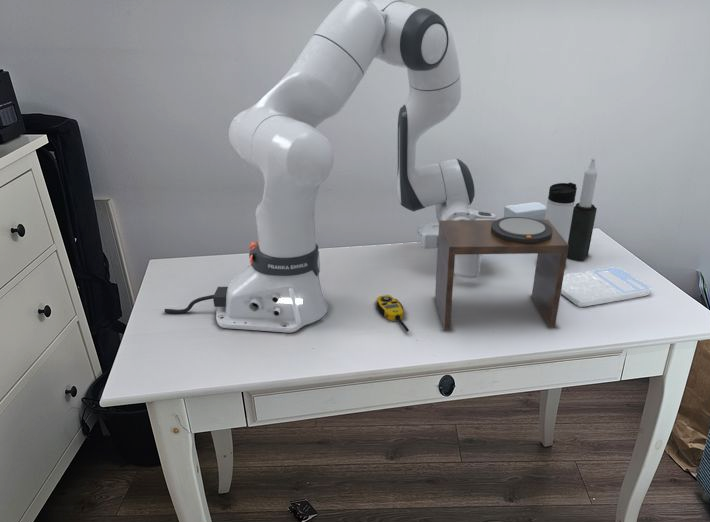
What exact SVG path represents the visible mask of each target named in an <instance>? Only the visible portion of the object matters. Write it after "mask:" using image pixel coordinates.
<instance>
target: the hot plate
mask: <svg viewBox="0 0 710 522" xmlns="http://www.w3.org/2000/svg"><path fill="white" fill-rule="evenodd" d="M491 232H492V233H493V234H494V235H495V236H496V237H498V238H500V239H503V240H506V241H510V242H515V243H524V244H532V243H540V242H544V241H547V240H549V239H550V238H551V237H552V232H553V230H552V227H551V226H550V225H548V224H547V223H545V222H542V221H539V220H536V219H531V218H525V217H507V218H503V217H501V218H498V219H496V221H494V222H493V223H492V225H491Z"/></svg>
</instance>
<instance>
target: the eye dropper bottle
mask: <svg viewBox="0 0 710 522" xmlns="http://www.w3.org/2000/svg"><path fill="white" fill-rule="evenodd" d="M481 257H482V254H463V255H455V263H454V275H456V276H457V277H462V278H467V279H476V278H477V277H478V276H479V275H480V267H481Z"/></svg>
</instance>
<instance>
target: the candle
mask: <svg viewBox="0 0 710 522" xmlns="http://www.w3.org/2000/svg"><path fill="white" fill-rule="evenodd" d="M595 161H596V158H595V157H592V158H591V161H590V163H589V166H588V167H587V168H586V169H585V171H584V174H583V179H582V186H581V192H580V197H579V202H577V203H575V205H574V209H573V215H572V221H571V227H570V233H569V239H568V245H569V248H568V253H567V259H570V260H574V261H577V262H583V261H585V259H586V258H588V257H589V253H590V246H591V242H592V236H593V231H594V225H595V221H596V215H597V209H598V208H597V207H596V206H595V205H594V204H593V198H594V193H595V189H596V182H597V177H598V171H597V169H596V162H595Z"/></svg>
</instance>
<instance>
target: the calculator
mask: <svg viewBox="0 0 710 522" xmlns="http://www.w3.org/2000/svg"><path fill="white" fill-rule="evenodd" d="M651 292H652V288H651V286H649V285H648V284H646V283H644V282H643V281H642V280H640V279H638V278H636V277H635V276H634V275H632V274H631V273H629V272H627V271H625V270H624V269H623V268H620V267H617V266H611V267H610V266H609V267H604V268H598V269H592V270H585V271H579V272H572V273H564V277H563V283H562V289H561V295H562V296H564V297H565V298H566V299H568V300H569V301H570V302H571V303H573V304H574V305H575V306H577V307H581V308H584V307H591V306H595V305H601V304H602V305H603V304H607V303H613V302H618V301H623V300H629V299H635V298H641V297H646V296H649V295H650V294H651Z"/></svg>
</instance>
